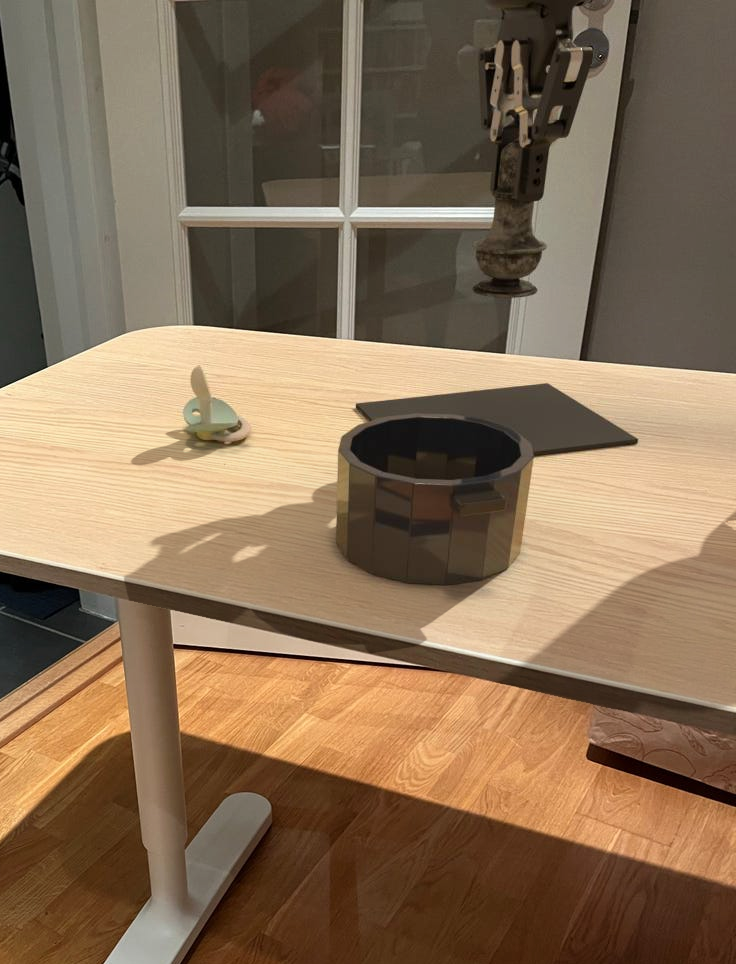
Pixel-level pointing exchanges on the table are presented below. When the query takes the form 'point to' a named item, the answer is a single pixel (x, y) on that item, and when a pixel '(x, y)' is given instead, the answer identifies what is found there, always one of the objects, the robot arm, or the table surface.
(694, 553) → the table surface
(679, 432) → the table surface
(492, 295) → the salt shaker
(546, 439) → the mat
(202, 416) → the pacifier
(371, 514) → the pot
